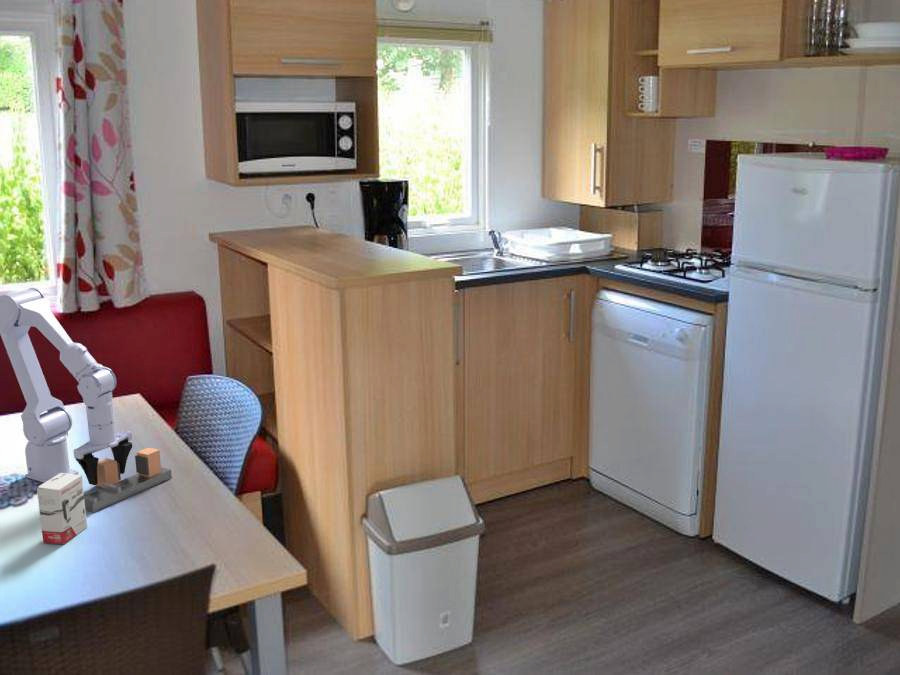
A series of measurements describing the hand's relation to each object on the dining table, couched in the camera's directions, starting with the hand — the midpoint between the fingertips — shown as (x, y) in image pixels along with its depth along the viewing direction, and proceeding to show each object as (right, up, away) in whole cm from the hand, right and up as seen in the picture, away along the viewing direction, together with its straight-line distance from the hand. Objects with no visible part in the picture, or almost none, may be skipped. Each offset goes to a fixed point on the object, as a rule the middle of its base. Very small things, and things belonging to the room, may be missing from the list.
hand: (107, 478), depth 216 cm
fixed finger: (+9, +1, +1) cm, 10 cm away
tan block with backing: (0, -1, 0) cm, 2 cm away
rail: (+6, -2, -4) cm, 8 cm away
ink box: (+1, -8, -25) cm, 26 cm away
